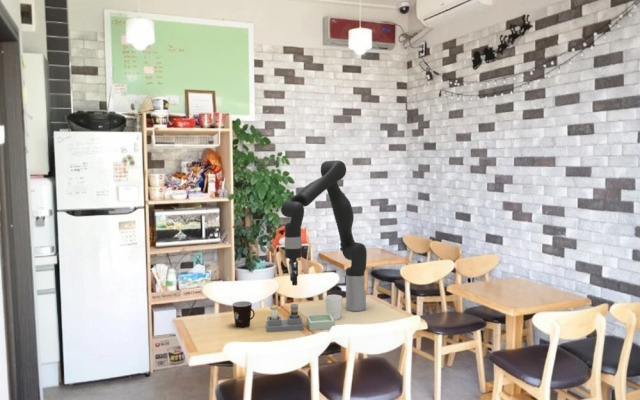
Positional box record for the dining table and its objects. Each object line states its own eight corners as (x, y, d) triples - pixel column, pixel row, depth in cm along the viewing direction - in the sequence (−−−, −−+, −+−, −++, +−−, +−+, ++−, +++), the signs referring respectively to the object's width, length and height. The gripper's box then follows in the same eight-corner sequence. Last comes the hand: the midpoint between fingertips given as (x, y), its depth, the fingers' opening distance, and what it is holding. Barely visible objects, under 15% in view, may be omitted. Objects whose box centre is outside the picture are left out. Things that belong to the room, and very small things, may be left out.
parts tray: (330, 321, 240) (330, 313, 240) (334, 328, 229) (334, 321, 229) (306, 322, 239) (306, 315, 238) (309, 330, 228) (309, 322, 227)
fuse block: (301, 323, 238) (301, 313, 237) (303, 329, 229) (303, 319, 228) (266, 325, 235) (265, 315, 235) (267, 332, 226) (266, 321, 226)
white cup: (345, 317, 246) (345, 296, 245) (334, 321, 240) (334, 300, 239) (333, 314, 251) (332, 293, 250) (322, 318, 245) (321, 297, 244)
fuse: (277, 322, 233) (277, 304, 232) (278, 324, 230) (278, 307, 229) (270, 322, 233) (269, 305, 232) (270, 325, 229) (270, 307, 229)
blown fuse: (298, 321, 234) (297, 303, 234) (298, 323, 231) (298, 305, 230) (290, 321, 234) (290, 304, 233) (291, 324, 231) (290, 306, 230)
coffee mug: (231, 324, 238) (230, 302, 237) (249, 321, 241) (248, 300, 240) (237, 331, 227) (236, 309, 226) (256, 329, 231) (256, 306, 230)
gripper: (303, 249, 223) (304, 286, 225) (299, 243, 237) (300, 278, 239) (285, 249, 222) (286, 287, 224) (283, 244, 236) (284, 279, 238)
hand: (293, 282), depth 231 cm, fingers open, 8 cm apart
